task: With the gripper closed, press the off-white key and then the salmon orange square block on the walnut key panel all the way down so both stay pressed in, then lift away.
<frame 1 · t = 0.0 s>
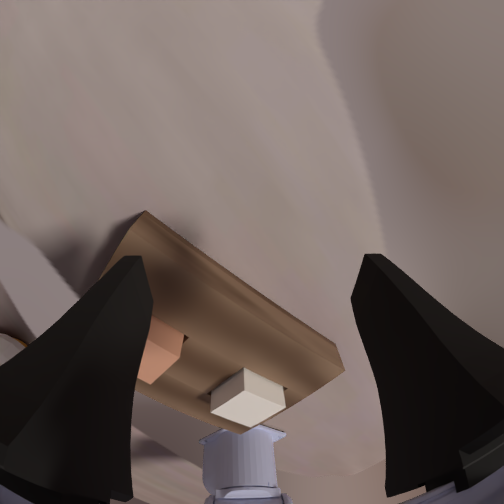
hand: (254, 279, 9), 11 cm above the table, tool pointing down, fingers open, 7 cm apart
cup: (24, 352, 26), on the table
key panel: (202, 340, 24), on the table
off white key: (247, 395, 22), point 4 cm above the table, slide at 0.0 cm
salmon orange square block: (142, 341, 19), point 4 cm above the table, slide at 0.0 cm
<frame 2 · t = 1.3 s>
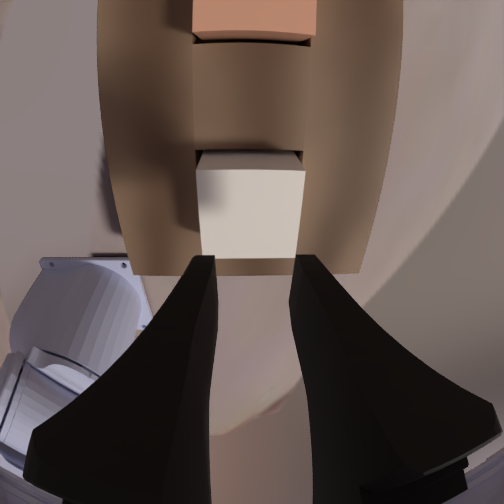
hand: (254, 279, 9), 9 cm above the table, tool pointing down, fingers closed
key panel: (248, 90, 14), on the table
off white key: (248, 201, 14), point 4 cm above the table, slide at 0.0 cm
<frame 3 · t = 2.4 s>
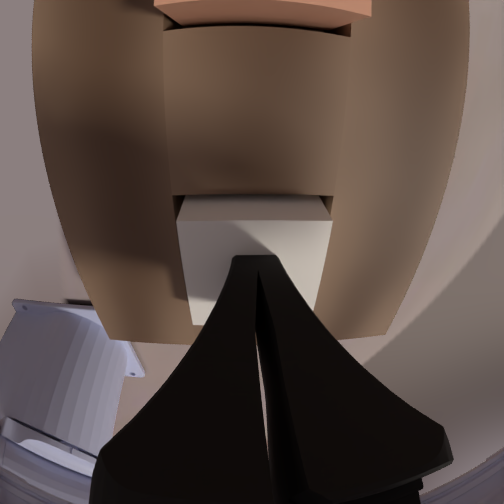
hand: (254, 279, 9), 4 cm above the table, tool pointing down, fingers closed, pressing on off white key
key panel: (251, 100, 10), on the table
off white key: (251, 251, 10), point 3 cm above the table, slide at 0.9 cm, touching gripper
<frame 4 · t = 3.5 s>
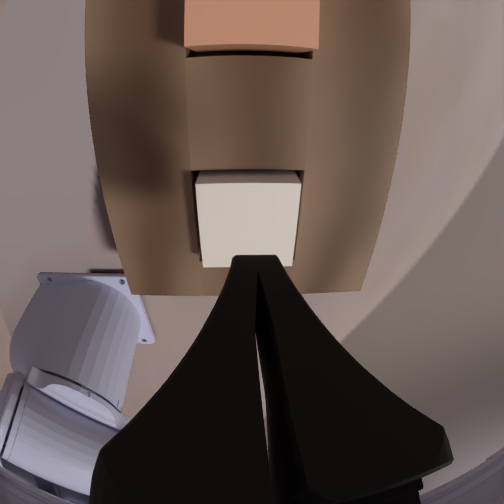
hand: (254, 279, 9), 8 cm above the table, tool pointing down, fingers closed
key panel: (246, 104, 13), on the table
off white key: (247, 211, 14), point 3 cm above the table, slide at 1.1 cm
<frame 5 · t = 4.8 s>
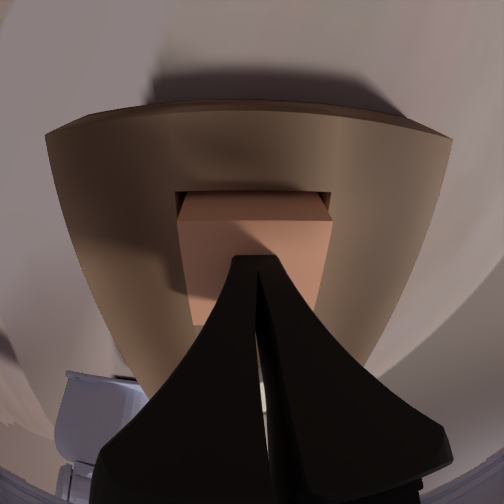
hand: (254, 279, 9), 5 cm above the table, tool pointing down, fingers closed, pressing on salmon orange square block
key panel: (247, 290, 16), on the table
off white key: (248, 377, 17), point 3 cm above the table, slide at 1.1 cm
salmon orange square block: (251, 251, 10), point 3 cm above the table, slide at 0.6 cm, touching gripper
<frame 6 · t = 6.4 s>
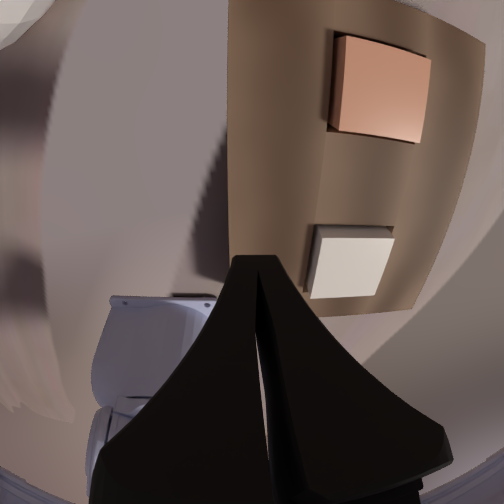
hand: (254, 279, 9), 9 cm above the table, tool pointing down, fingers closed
key panel: (345, 161, 16), on the table
off white key: (344, 253, 17), point 3 cm above the table, slide at 1.1 cm
salmon orange square block: (373, 87, 11), point 3 cm above the table, slide at 1.1 cm
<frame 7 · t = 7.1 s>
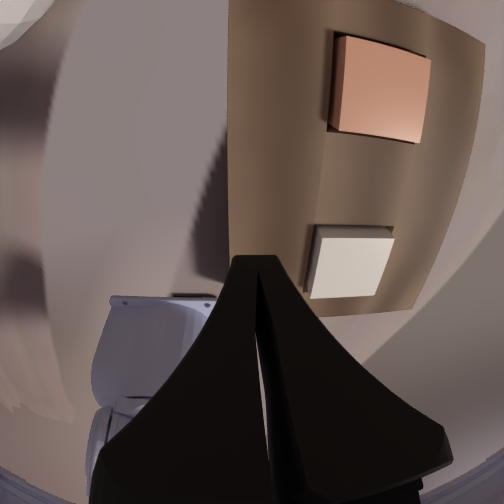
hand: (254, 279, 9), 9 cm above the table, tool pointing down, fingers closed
key panel: (345, 162, 16), on the table
off white key: (344, 253, 17), point 3 cm above the table, slide at 1.1 cm
salmon orange square block: (373, 87, 11), point 3 cm above the table, slide at 1.1 cm
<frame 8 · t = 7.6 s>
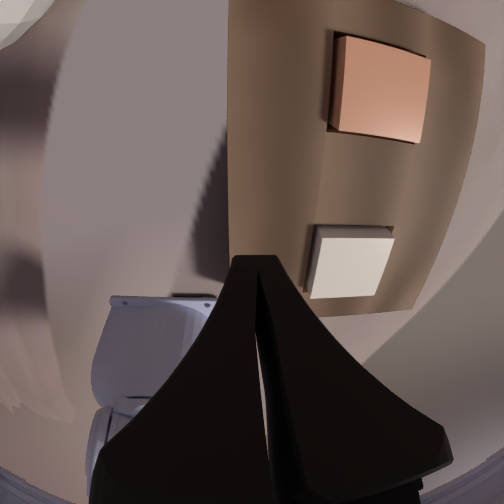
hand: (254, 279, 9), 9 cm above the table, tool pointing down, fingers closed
key panel: (345, 162, 16), on the table
off white key: (344, 253, 17), point 3 cm above the table, slide at 1.1 cm
salmon orange square block: (373, 87, 11), point 3 cm above the table, slide at 1.1 cm
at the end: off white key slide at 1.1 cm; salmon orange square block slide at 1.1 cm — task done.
